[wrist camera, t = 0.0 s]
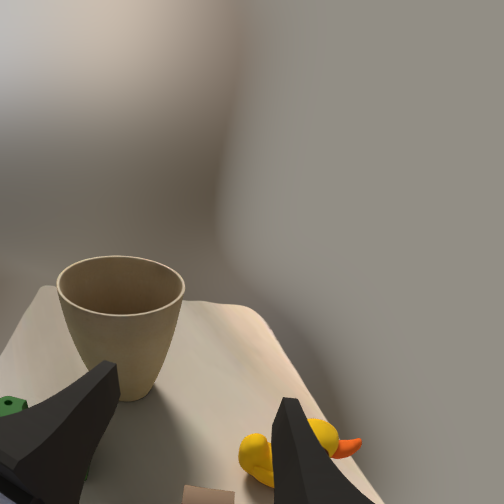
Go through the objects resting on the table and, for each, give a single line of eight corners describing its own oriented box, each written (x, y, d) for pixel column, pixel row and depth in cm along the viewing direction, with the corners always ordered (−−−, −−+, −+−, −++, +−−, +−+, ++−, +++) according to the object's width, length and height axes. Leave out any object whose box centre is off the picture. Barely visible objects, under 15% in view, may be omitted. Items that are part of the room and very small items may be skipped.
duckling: (331, 466, 28) (366, 414, 25) (330, 501, 23) (370, 454, 20) (239, 449, 29) (255, 393, 27) (228, 483, 24) (243, 433, 21)
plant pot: (85, 346, 40) (79, 250, 36) (176, 355, 44) (184, 261, 40) (62, 414, 27) (35, 302, 22) (180, 429, 31) (187, 321, 26)
